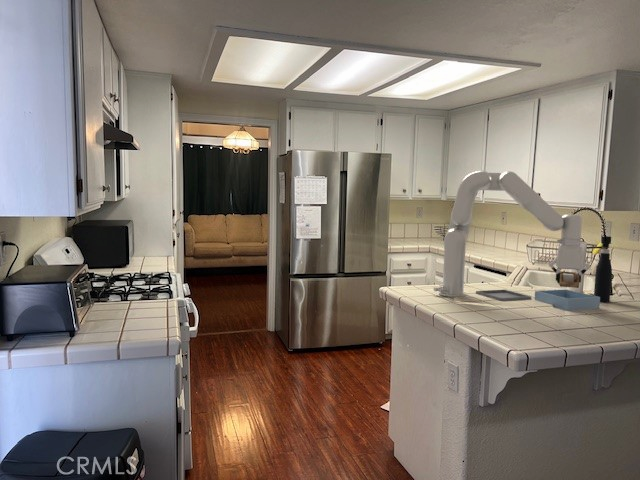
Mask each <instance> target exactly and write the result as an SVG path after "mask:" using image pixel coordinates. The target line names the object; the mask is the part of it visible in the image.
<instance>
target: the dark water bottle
mask: <svg viewBox="0 0 640 480" xmlns="http://www.w3.org/2000/svg"><path fill="white" fill-rule="evenodd" d="M603 236H605V235H603ZM603 236H601V240H600V243H601V244H602V246H601V247H602V249H601V250H600V256H599V260H598V261H597V265H596V268H595V277H594V289H593V290H594V291H593V296H598V297H600V303H610V301H611V300H610V299H611V298H610V297H611V288H612V275H613V274H612V273H613V268H612V263H611V260H610V257H611V254H610V251H611V250H610V249H609V248H610V244H612V236H608V235H607V236H605V237H606V242H605V237H603Z"/></svg>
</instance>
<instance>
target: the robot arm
mask: <svg viewBox="0 0 640 480" xmlns="http://www.w3.org/2000/svg"><path fill="white" fill-rule="evenodd" d="M479 191H491V192H493V191H496V192H497V191H499V192H501V191H503V192H505V193H506V194H507V195H509V197H510V198H512V199H513V200H514V202H516V203H517V204H518V205H519V206H520V207H521V208H522V209H524V210H525V211H526V212H529V214H531V215H532V216H533V217H534V218H536V219H537V221H539V222H540V223H541V224H542V225H543V227H544V228H545V229H546V230H548V231H549V232H557V231H560V230H561V237H560V238H559V239H557V240H556V241H557V243H558V244H559V245H558V248H557V252H556V259H554V260H553V261H551V262H550V263H548V266H549V267H550V268H551V270H552V271H553V272H554V273H555V281H556V283H557V284H558V283H559V282H560V274H559V272H560V271H561V272H562V270H575V271H577V272H576V273H577V274H578V275H579V284H581V282H582V276H583V275H584V274H585V273H586V272H587V271H589V269H590V268H591V266H590V265H588V263H587V262H585V261H584V251H583V246H581V242H582V241H581V237H582V223H583V219H582V218H583V217H582V216H581V215H580V214H570V213H569V214H568V213H567V214H560V213H558V212H557V211H556V209H554V208H553V207H552V206H551V205H550V204H549V203H548V202H547V201H545V199H543V198H542V196H541V195H540V194H538V193H537V191H535V190H534V189H533V188H532V187H531V186H529V185H528V184H527V182H526V181H524V180H523V178H522V177H520V176H519V175H518V174H517V173H516V172H514V171H505V172H488V171H485V170H478V171H475V172H471V173H469V174H468V175H466V176H465V177H464V178H463V179H462V181H461V182H460V184H459V186H458V189H457V191H456V196H455V199H454V203H453V207H452V210H451V213H450V221H449V224H448V225H449V226H448V229H447V232H446V233H445V236H444V239H443V240H444V244H443V247H444V248H443V251H444V252H443V271H442V272H443V273H442V284H440V286H434V287H433V291H434V292H438V294H439V295H440V296H443V297H449V298H456V297H458V296H460V297H461V296H462V297H463V296H467V293H466V292H464V287H465V286H464V283H465V267H466V248H467V247H466V245H467V239H468V235H469V232H470V231H469V230H470V228H471V223H472V219H473V208H474V204H475V201H476V196H477V194H478V192H479ZM555 264H556V267H557V268H556V267H555V266H554V265H555Z"/></svg>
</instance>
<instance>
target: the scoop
mask: <svg viewBox="0 0 640 480" xmlns="http://www.w3.org/2000/svg"><path fill="white" fill-rule="evenodd" d="M563 273H565V274H573V275H574V281H573V282H565V281H562V276H563ZM559 274H560V282H559V283H557V284H558V285H559V287H563V288H573V289H574V288H575V289H576V288H579V289H580V287H579V286H580V282H579V275H578V272H575V271H574V272H573V271H562V270H561V271H560V272H559Z"/></svg>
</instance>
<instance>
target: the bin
mask: <svg viewBox="0 0 640 480" xmlns="http://www.w3.org/2000/svg"><path fill="white" fill-rule="evenodd" d="M534 301H538V302H541V303H545V304H549V305H552V308H555V309H560V310H563V311H567V312H569V311H570V312H571V311H584V310H585V311H587V310H594V309H595V310H596V309H600V305H601V302H600V297H598V296H594V294H593V295H592V294H588V293H584V292H579V291H574V290H570V289H546V290H545V289H544V290H543V289H542V290H535V291H534Z"/></svg>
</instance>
